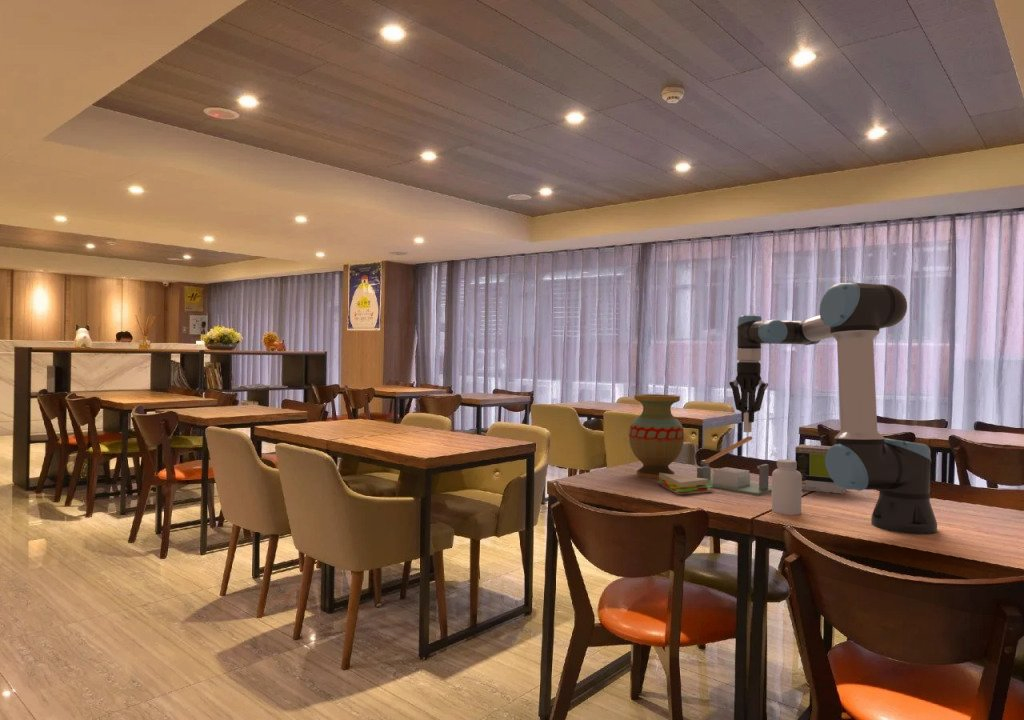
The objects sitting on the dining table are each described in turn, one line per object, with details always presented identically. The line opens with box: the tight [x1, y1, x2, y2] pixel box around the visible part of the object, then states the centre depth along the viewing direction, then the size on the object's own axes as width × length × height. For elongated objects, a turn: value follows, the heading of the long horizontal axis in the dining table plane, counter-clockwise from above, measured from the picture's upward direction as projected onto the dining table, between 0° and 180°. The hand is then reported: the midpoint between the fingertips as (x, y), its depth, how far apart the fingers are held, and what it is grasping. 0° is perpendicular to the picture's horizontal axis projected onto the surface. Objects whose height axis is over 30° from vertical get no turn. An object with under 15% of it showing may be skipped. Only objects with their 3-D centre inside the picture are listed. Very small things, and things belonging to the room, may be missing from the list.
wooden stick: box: [698, 435, 754, 467], centre depth 235 cm, size 21×4×2 cm
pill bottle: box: [771, 459, 803, 516], centre depth 196 cm, size 8×8×15 cm
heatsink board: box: [696, 463, 772, 497], centre depth 234 cm, size 28×16×9 cm, turn 44°
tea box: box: [794, 444, 847, 494], centre depth 232 cm, size 15×10×15 cm, turn 58°
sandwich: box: [657, 473, 713, 495], centre depth 226 cm, size 15×20×5 cm
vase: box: [628, 393, 685, 479], centre depth 252 cm, size 20×20×30 cm
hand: (747, 432), depth 229 cm, fingers closed
